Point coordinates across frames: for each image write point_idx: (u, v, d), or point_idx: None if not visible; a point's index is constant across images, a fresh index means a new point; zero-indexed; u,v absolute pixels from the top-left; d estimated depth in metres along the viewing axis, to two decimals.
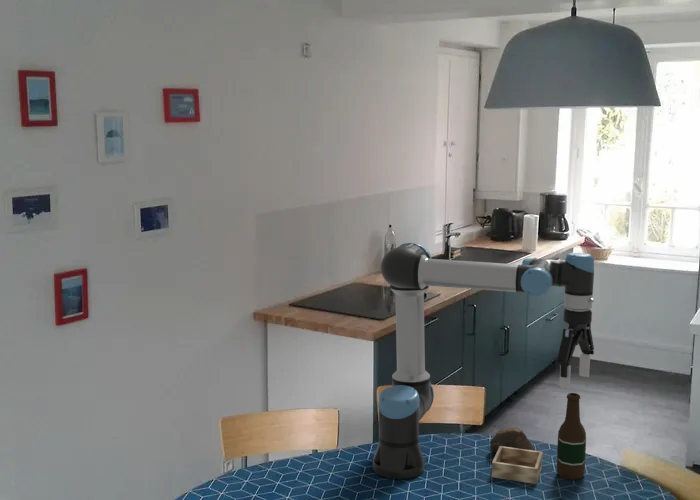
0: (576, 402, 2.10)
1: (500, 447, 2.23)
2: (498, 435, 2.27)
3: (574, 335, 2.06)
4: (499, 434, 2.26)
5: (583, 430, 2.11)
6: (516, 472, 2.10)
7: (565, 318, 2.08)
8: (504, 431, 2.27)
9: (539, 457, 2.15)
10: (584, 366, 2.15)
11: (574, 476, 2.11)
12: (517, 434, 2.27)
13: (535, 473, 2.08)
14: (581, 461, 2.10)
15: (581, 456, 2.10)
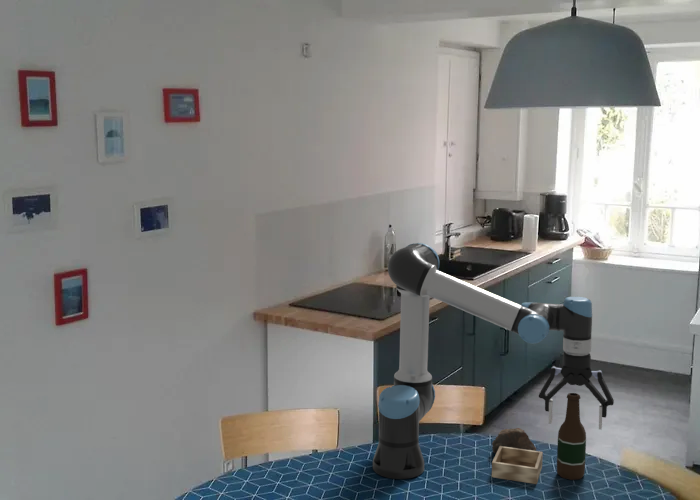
0: (576, 402, 2.10)
1: (500, 447, 2.23)
2: (501, 436, 2.26)
3: (563, 375, 2.10)
4: (502, 435, 2.26)
5: (583, 430, 2.11)
6: (516, 472, 2.10)
7: None
8: (506, 432, 2.26)
9: (539, 457, 2.15)
10: None
11: (574, 476, 2.11)
12: (520, 434, 2.27)
13: (535, 473, 2.08)
14: (581, 461, 2.10)
15: (581, 456, 2.10)
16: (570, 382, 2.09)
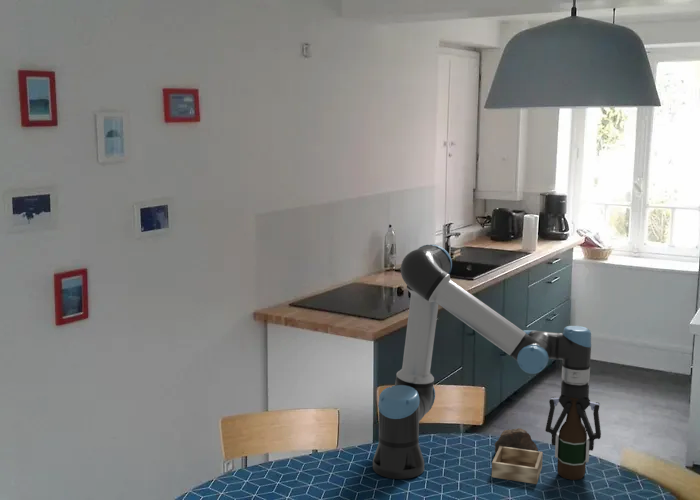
0: None
1: (500, 447, 2.23)
2: (504, 437, 2.25)
3: (561, 404, 2.11)
4: (505, 436, 2.25)
5: (584, 430, 2.11)
6: (516, 472, 2.10)
7: None
8: (509, 432, 2.26)
9: (539, 457, 2.15)
10: None
11: (575, 476, 2.11)
12: (522, 435, 2.26)
13: (535, 473, 2.08)
14: (582, 461, 2.10)
15: (582, 456, 2.10)
16: (568, 410, 2.11)
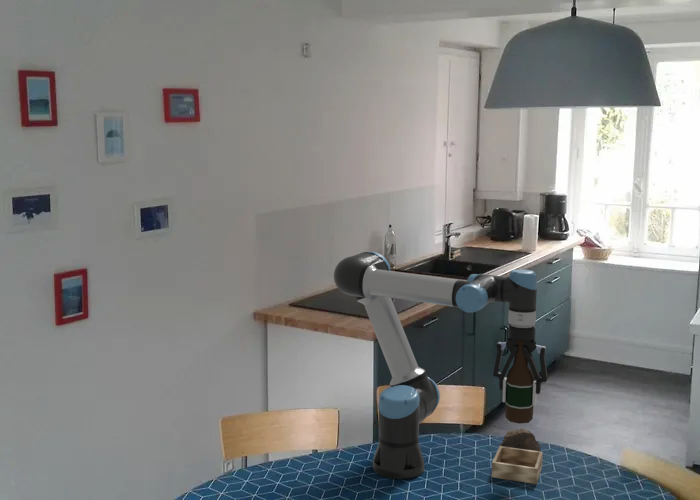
0: None
1: (500, 447, 2.23)
2: (509, 438, 2.24)
3: (508, 347, 2.12)
4: (510, 437, 2.24)
5: (531, 374, 2.11)
6: (516, 472, 2.10)
7: None
8: (514, 433, 2.25)
9: (539, 457, 2.15)
10: None
11: (522, 419, 2.11)
12: (527, 435, 2.26)
13: (535, 473, 2.08)
14: (529, 404, 2.11)
15: (529, 399, 2.10)
16: (515, 354, 2.11)
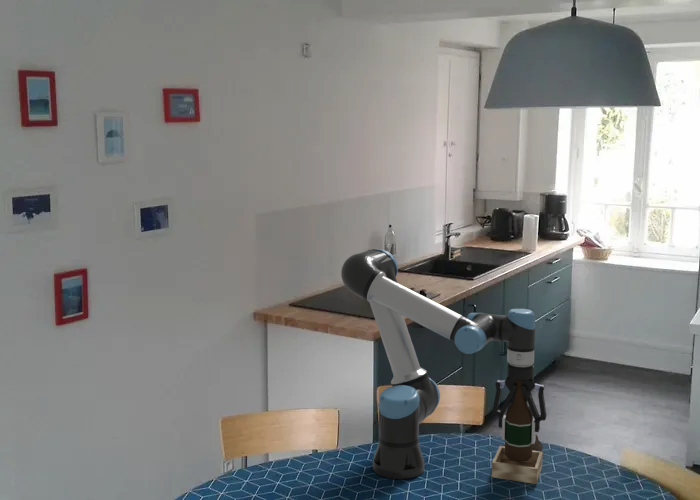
0: None
1: (500, 447, 2.23)
2: None
3: None
4: None
5: (530, 412, 2.13)
6: (516, 472, 2.10)
7: None
8: None
9: (539, 457, 2.15)
10: None
11: (521, 458, 2.12)
12: None
13: (535, 473, 2.08)
14: (528, 443, 2.12)
15: (528, 438, 2.12)
16: (514, 393, 2.13)
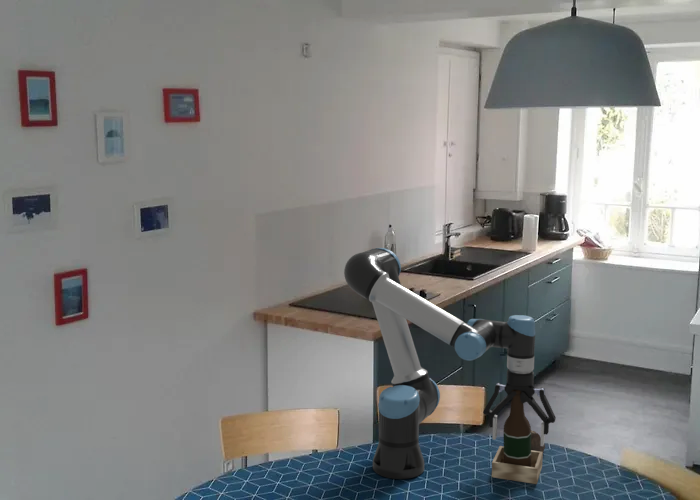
0: (519, 396, 2.12)
1: (500, 447, 2.23)
2: None
3: (506, 392, 2.14)
4: None
5: (527, 424, 2.13)
6: (516, 472, 2.10)
7: None
8: None
9: (539, 457, 2.15)
10: None
11: None
12: (533, 436, 2.26)
13: (535, 473, 2.08)
14: (526, 454, 2.13)
15: (526, 449, 2.12)
16: None
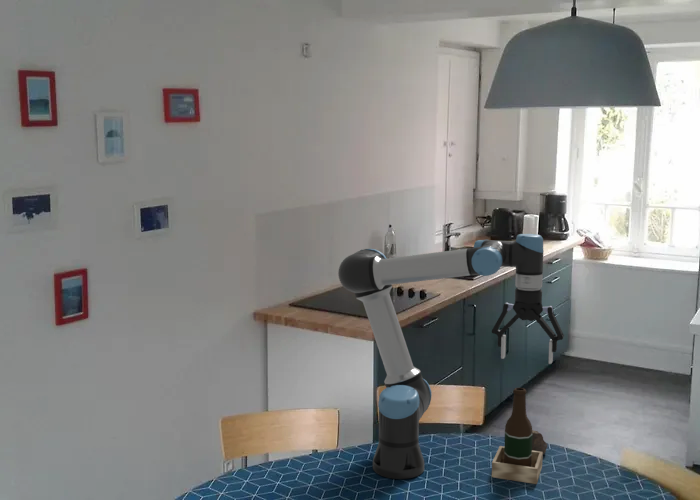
0: (522, 396, 2.12)
1: (500, 447, 2.23)
2: None
3: (515, 311, 2.15)
4: None
5: (529, 424, 2.13)
6: (516, 472, 2.10)
7: None
8: None
9: (539, 457, 2.15)
10: None
11: None
12: (536, 436, 2.26)
13: (535, 473, 2.08)
14: (527, 455, 2.13)
15: (527, 450, 2.12)
16: (522, 317, 2.14)
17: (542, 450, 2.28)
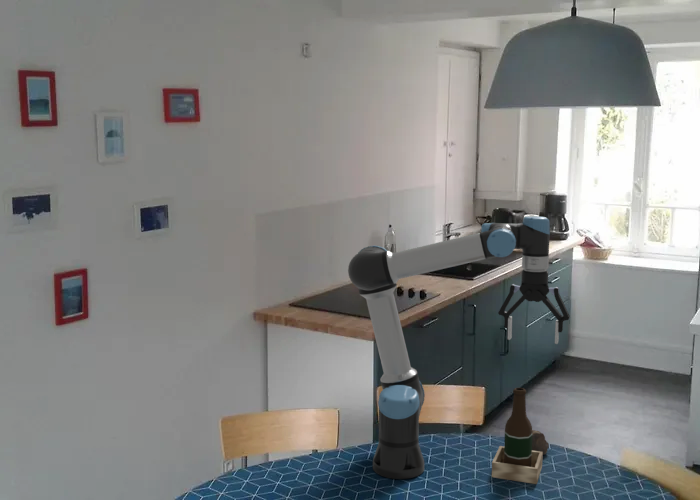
0: (522, 396, 2.12)
1: (500, 447, 2.23)
2: None
3: (521, 292, 2.18)
4: None
5: (529, 424, 2.13)
6: (516, 472, 2.10)
7: None
8: None
9: (539, 457, 2.15)
10: None
11: None
12: (538, 436, 2.26)
13: (535, 473, 2.08)
14: (527, 455, 2.13)
15: (527, 450, 2.12)
16: (528, 298, 2.18)
17: (544, 450, 2.28)
